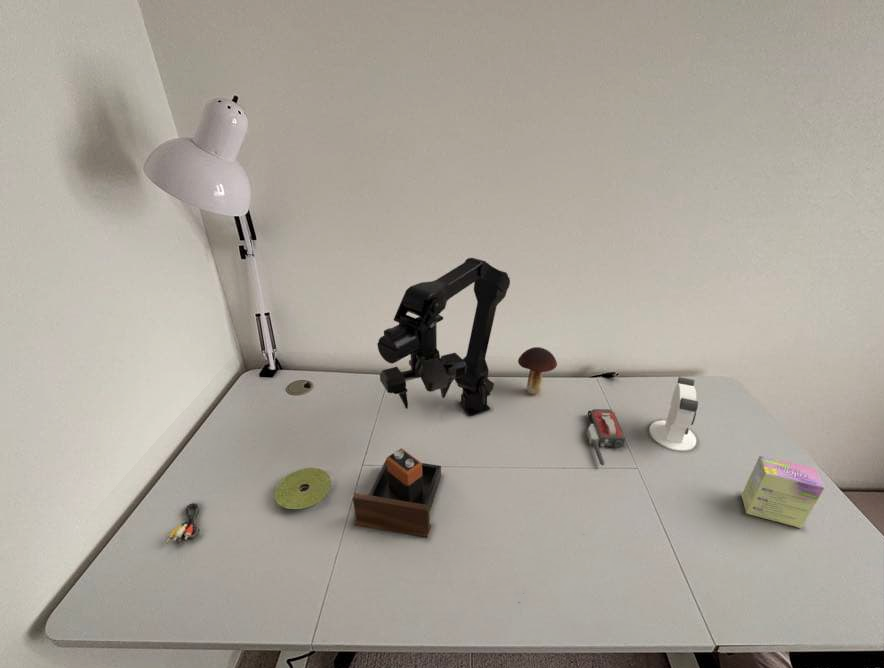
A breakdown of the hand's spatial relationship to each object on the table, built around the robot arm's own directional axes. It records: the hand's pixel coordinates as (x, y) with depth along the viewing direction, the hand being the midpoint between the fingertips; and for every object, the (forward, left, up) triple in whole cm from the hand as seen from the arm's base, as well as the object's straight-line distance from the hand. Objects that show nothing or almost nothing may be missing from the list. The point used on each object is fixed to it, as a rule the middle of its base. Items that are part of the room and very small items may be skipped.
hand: (424, 402), depth 101 cm
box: (-57, +52, -13) cm, 78 cm away
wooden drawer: (+11, +13, -13) cm, 22 cm away
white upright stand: (-58, +26, -13) cm, 65 cm away
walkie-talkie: (-41, +19, -13) cm, 47 cm away
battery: (+10, +12, -13) cm, 20 cm away
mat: (+29, +2, -13) cm, 32 cm away
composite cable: (+50, 0, -13) cm, 52 cm away
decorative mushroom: (-37, -6, -13) cm, 40 cm away
